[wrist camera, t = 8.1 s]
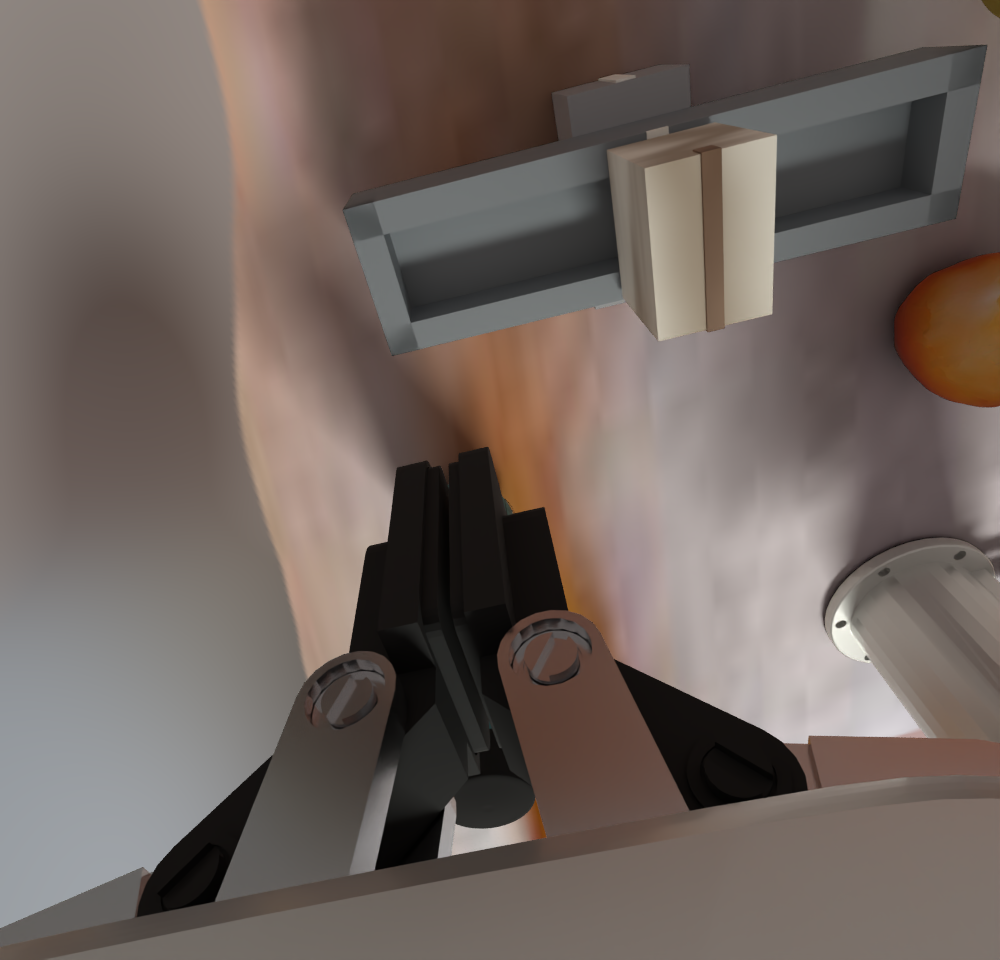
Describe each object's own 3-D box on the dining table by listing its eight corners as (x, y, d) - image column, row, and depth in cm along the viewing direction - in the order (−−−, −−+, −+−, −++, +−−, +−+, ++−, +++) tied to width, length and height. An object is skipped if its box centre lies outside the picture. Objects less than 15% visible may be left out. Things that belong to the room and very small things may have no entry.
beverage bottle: (423, 456, 39) (415, 752, 22) (526, 474, 40) (592, 764, 23) (405, 539, 42) (387, 849, 25) (501, 552, 43) (543, 854, 27)
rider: (695, 116, 24) (778, 133, 19) (700, 263, 28) (773, 316, 22) (594, 142, 25) (645, 166, 19) (611, 285, 28) (659, 343, 22)
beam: (869, 7, 28) (999, -11, 22) (850, 218, 33) (950, 255, 27) (350, 142, 29) (326, 164, 23) (408, 327, 34) (402, 387, 28)
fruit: (884, 427, 39) (970, 424, 31) (848, 303, 38) (926, 268, 30) (1018, 386, 38) (1143, 372, 30) (983, 260, 38) (1099, 212, 30)
